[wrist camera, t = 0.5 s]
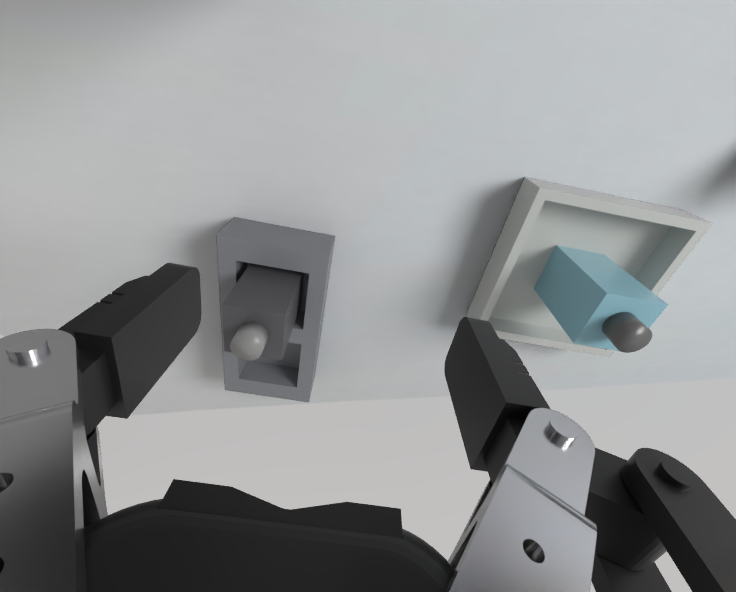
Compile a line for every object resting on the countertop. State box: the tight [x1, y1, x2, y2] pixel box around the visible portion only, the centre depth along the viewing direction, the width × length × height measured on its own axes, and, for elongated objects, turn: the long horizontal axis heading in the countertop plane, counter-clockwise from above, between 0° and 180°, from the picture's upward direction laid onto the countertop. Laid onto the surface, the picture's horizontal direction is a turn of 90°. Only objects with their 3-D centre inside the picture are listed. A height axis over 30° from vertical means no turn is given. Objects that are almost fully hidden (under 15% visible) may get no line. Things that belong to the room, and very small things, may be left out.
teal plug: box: [533, 245, 668, 353], centre depth 24 cm, size 4×4×8 cm
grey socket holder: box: [216, 217, 335, 402], centre depth 30 cm, size 16×8×4 cm, turn 169°
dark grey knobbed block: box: [222, 263, 304, 361], centre depth 25 cm, size 4×4×8 cm
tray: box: [466, 177, 713, 357], centre depth 27 cm, size 12×12×3 cm
